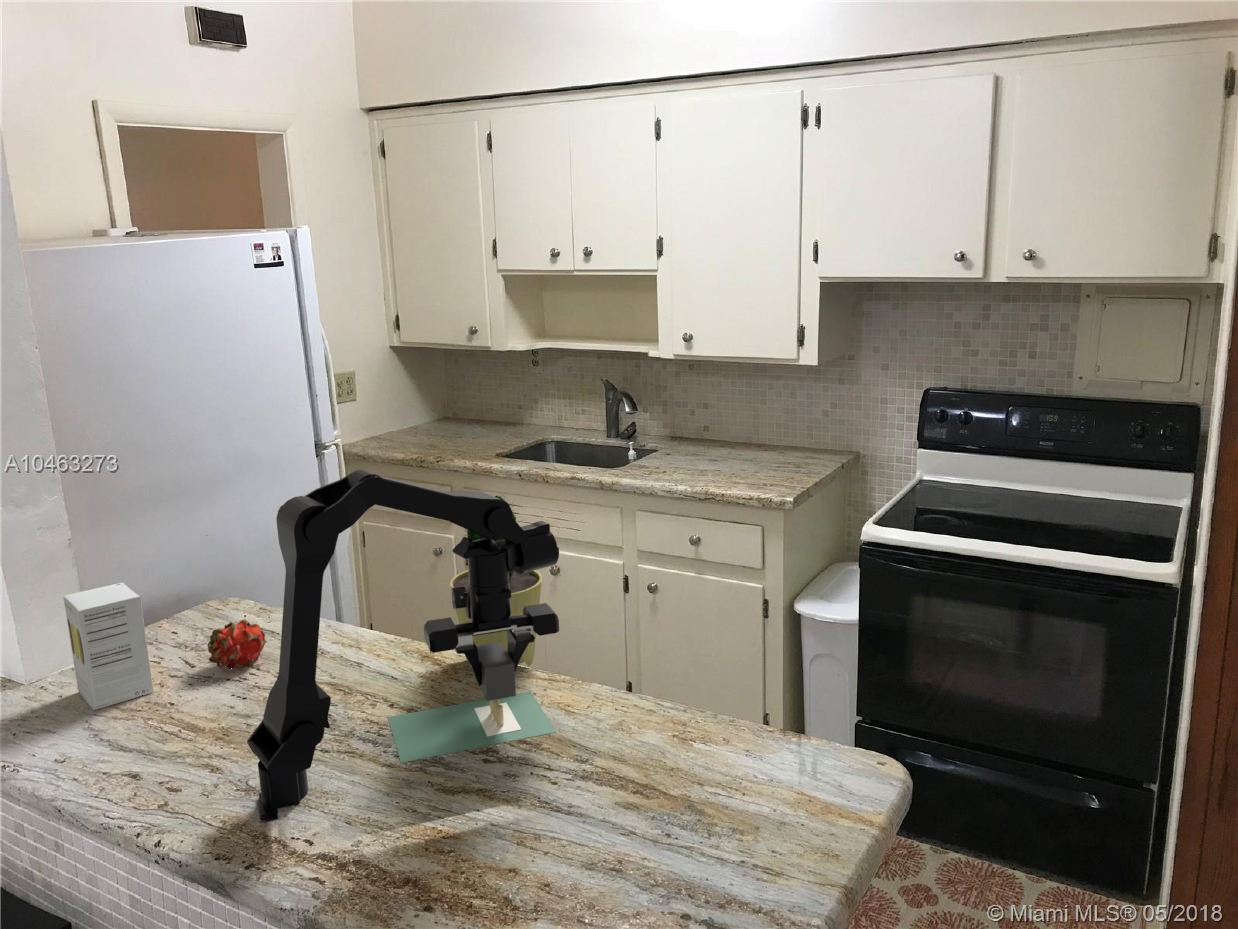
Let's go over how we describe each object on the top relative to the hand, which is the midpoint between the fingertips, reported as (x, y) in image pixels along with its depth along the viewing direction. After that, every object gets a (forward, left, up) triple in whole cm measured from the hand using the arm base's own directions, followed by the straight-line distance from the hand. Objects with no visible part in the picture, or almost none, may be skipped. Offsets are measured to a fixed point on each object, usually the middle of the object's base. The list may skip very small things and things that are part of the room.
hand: (494, 681), depth 142 cm
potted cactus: (+23, -6, -8) cm, 25 cm away
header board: (0, +4, -8) cm, 8 cm away
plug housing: (+2, 0, -1) cm, 2 cm away
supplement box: (+36, +55, -8) cm, 66 cm away
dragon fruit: (+40, +36, -8) cm, 54 cm away
